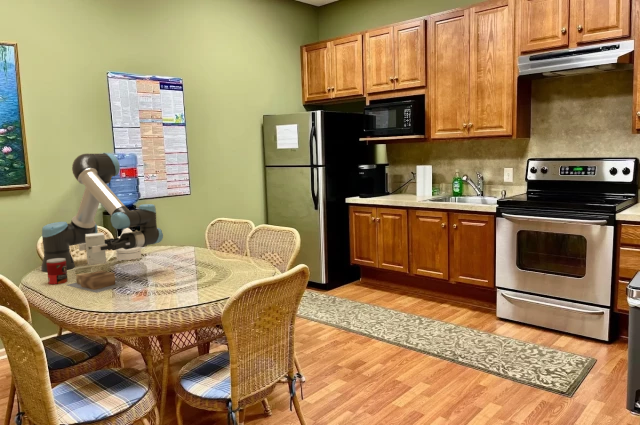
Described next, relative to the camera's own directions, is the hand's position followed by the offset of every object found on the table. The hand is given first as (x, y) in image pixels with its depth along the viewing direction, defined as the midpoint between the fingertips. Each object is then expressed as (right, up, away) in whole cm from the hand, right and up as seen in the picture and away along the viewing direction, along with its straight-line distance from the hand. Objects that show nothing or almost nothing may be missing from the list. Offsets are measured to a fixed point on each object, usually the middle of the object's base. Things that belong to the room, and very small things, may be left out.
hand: (85, 248), depth 210 cm
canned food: (-19, -17, +13) cm, 28 cm away
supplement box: (+3, -7, +5) cm, 8 cm away
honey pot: (-7, -10, +67) cm, 68 cm away
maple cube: (-6, -16, +10) cm, 20 cm away
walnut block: (+3, -16, +6) cm, 18 cm away
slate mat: (+1, -17, +7) cm, 18 cm away
